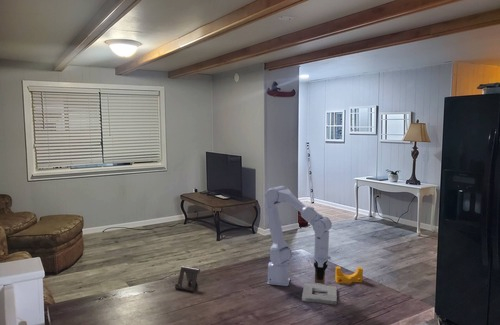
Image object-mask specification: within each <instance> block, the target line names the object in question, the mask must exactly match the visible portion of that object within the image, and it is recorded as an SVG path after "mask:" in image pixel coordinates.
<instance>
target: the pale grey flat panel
mask: <svg viewBox="0 0 500 325" xmlns="http://www.w3.org/2000/svg"><path fill="white" fill-rule="evenodd" d="M337 291H338V290H337V286H335V285H334V286H333V285H326V284H318V283H306V282H305V283H303V289H302V293H301V294H302V295H301V301H302V302H308V303H309V302H310V303H318V304H326V305H334V306H335V305H337V303H338V301H337V294H338V293H337ZM313 292H317V293H318V292H319V293H326V294H327V295H322V294H313Z"/></svg>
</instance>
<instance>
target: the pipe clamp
mask: <svg viewBox="0 0 500 325" xmlns="http://www.w3.org/2000/svg"><path fill="white" fill-rule="evenodd" d="M356 268H357V269H356V270H355V272H353V273H352V274H345V273H344V272H342V268H341V266H337V265H335V272H334V273H335V274H334V275H335V276H334V280H335V282H336V284H351V285H352V283H363V277H364V276H363V275H364V269H363V267H362V266H357V267H356Z"/></svg>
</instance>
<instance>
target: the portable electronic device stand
mask: <svg viewBox="0 0 500 325" xmlns="http://www.w3.org/2000/svg"><path fill="white" fill-rule="evenodd" d="M200 273H201V269H200V268H196V267H195V268H194V267H190V266H184V265H182V266H181V267H180V271H179V276H178V281H177V283H175V285H174V288H175V289H177V290H182V291H188V292H192V293H193V292H194V291H195V288H196V285H197V286H198V281H197V279H198V275H199V274H200ZM184 275H185V276H186V279H187V283H188V284H190V286H187V285H186V286H183V281H184Z"/></svg>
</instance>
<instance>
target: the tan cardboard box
mask: <svg viewBox="0 0 500 325" xmlns="http://www.w3.org/2000/svg"><path fill="white" fill-rule="evenodd" d="M325 276H326V272H325V273H324V277H323V280H318V279H317V273H316V269H315V268H314V284H320V285H325V283H326V282H325Z"/></svg>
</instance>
